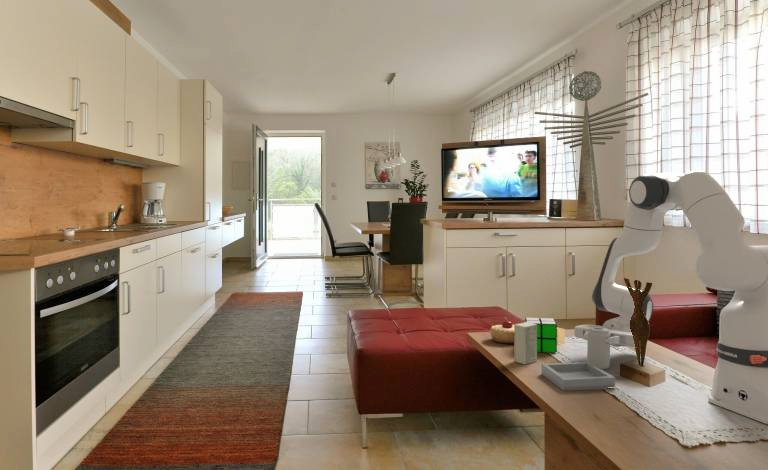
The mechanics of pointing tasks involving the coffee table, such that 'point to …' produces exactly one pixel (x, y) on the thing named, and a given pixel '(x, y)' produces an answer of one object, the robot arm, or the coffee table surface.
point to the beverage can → (598, 347)
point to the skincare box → (525, 342)
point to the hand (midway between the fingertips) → (596, 339)
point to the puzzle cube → (545, 334)
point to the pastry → (503, 332)
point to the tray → (577, 376)
